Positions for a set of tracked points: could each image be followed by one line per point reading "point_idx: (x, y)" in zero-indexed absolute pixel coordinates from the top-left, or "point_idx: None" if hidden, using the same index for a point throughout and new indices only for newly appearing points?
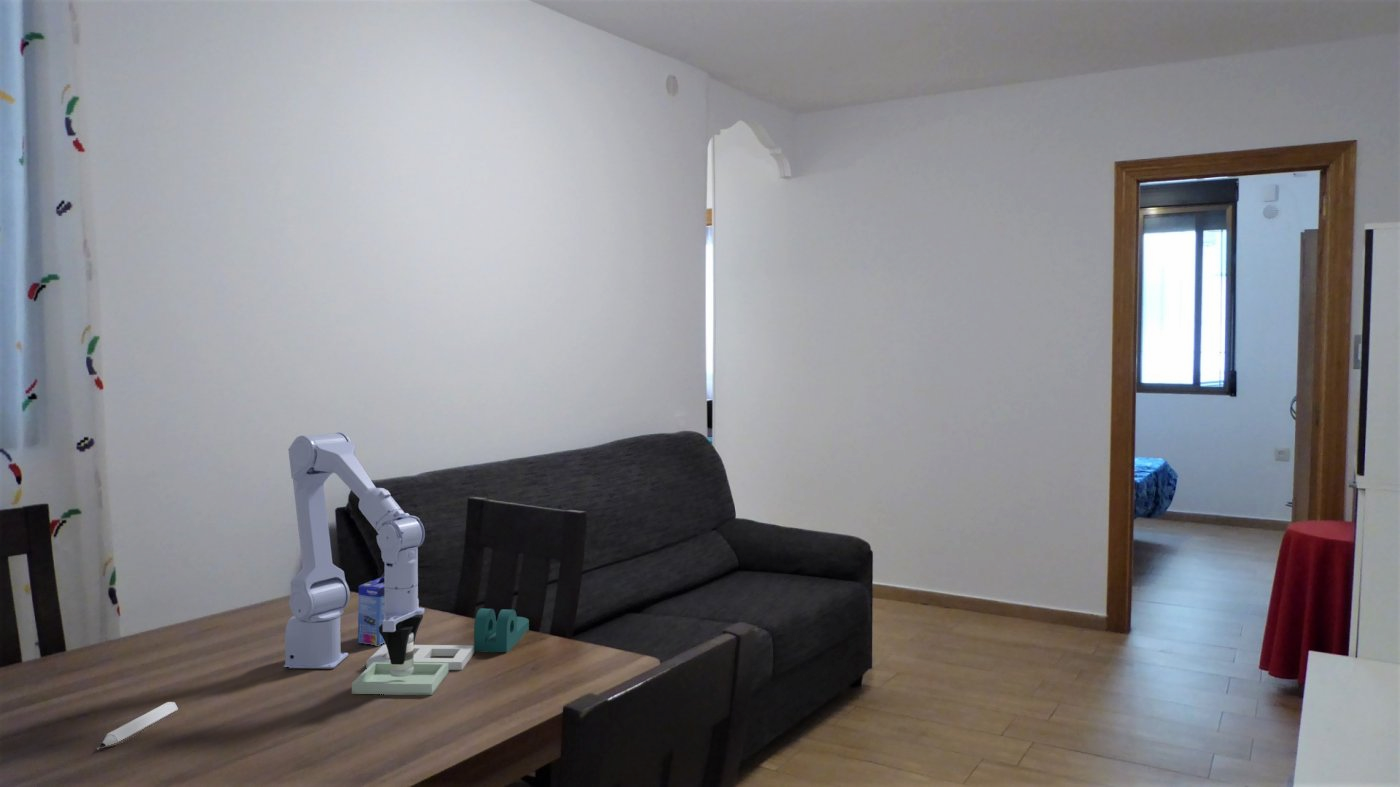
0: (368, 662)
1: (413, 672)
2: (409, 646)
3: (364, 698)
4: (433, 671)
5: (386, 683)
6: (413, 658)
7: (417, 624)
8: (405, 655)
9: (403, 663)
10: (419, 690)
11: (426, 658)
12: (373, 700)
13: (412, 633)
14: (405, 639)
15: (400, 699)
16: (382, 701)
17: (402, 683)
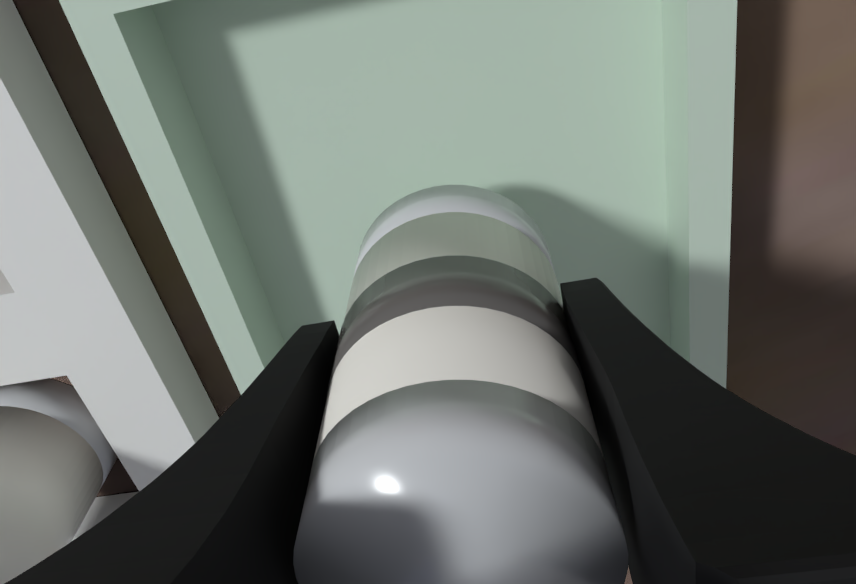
0: None
1: (247, 248)
2: (519, 357)
3: (766, 328)
4: (181, 92)
5: (726, 272)
6: (405, 257)
7: (191, 571)
8: (581, 314)
9: (572, 281)
10: None
11: (14, 266)
12: (809, 259)
13: (361, 485)
14: (820, 442)
15: (799, 76)
16: (836, 191)
17: (724, 146)
